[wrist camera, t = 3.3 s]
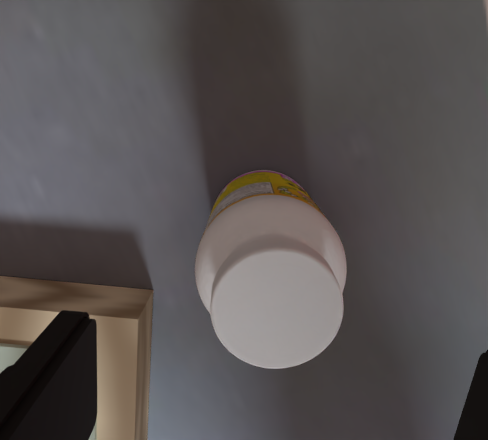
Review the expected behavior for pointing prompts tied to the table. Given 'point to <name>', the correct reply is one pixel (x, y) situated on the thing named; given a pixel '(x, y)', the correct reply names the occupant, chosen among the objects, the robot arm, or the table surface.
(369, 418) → the table surface
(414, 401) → the table surface
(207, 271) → the supplement bottle
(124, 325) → the plinth
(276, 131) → the table surface
